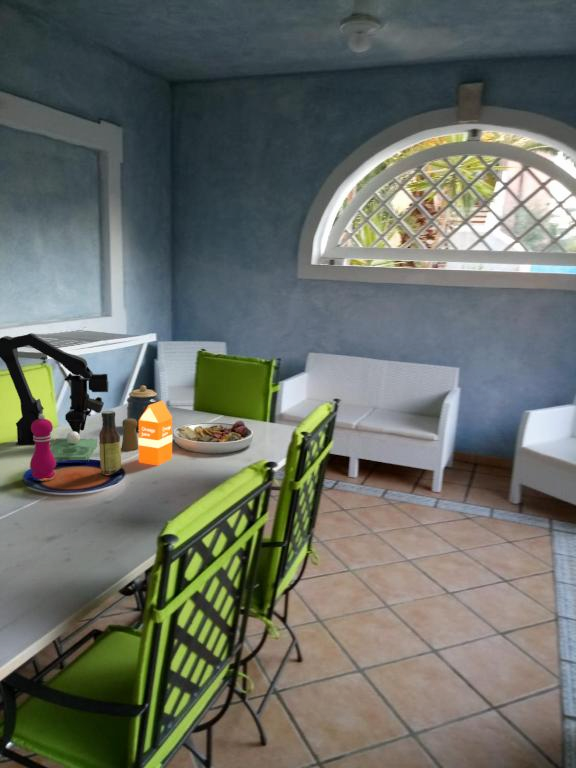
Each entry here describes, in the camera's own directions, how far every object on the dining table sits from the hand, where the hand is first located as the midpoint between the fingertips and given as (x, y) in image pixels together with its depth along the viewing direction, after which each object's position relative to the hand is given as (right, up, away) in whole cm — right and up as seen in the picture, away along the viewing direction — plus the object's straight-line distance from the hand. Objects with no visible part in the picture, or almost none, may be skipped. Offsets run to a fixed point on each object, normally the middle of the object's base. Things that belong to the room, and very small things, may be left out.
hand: (79, 433), depth 212 cm
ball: (+2, 0, -12) cm, 12 cm away
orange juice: (+32, -8, -17) cm, 37 cm away
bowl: (+49, -5, +5) cm, 49 cm away
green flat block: (+2, -6, -15) cm, 17 cm away
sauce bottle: (+21, -10, -32) cm, 40 cm away
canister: (+17, 0, +24) cm, 30 cm away
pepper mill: (+3, -10, -39) cm, 41 cm away
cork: (+20, -5, -5) cm, 21 cm away
